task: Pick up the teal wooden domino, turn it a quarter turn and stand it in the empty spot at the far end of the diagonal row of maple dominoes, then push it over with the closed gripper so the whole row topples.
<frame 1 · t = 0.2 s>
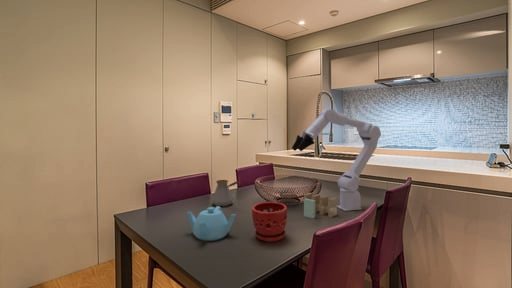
hand: (296, 149, 133), 31 cm above the table, tool tilted 45°, fingers open, 7 cm apart
domino 5: (332, 215, 132), on the table
domino 3: (315, 211, 138), on the table
coffee pot: (227, 206, 148), on the table
teapot: (211, 235, 110), on the table
plant pot: (269, 237, 107), on the table
domino 2: (308, 209, 141), on the table
domino 4: (324, 213, 135), on the table
teal domino: (309, 216, 130), on the table
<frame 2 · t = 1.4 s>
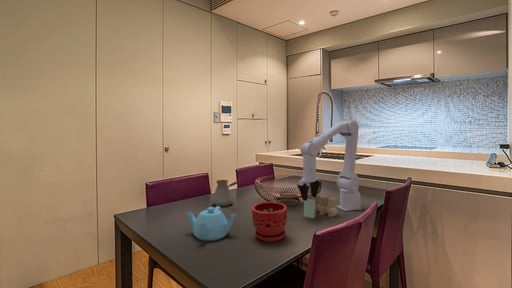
hand: (309, 198, 130), 9 cm above the table, tool pointing down, fingers open, 7 cm apart
nothing on the table moved.
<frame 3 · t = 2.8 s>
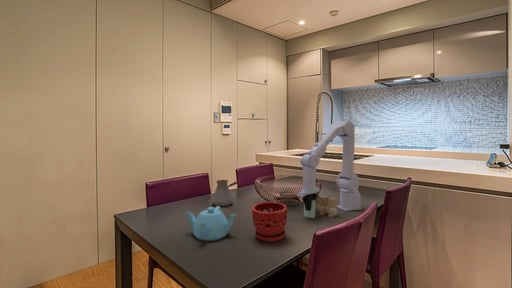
hand: (309, 209, 130), 3 cm above the table, tool pointing down, fingers closed on teal domino, 2 cm apart
teal domino: (309, 216, 130), on the table, touching gripper
everything else where it was.
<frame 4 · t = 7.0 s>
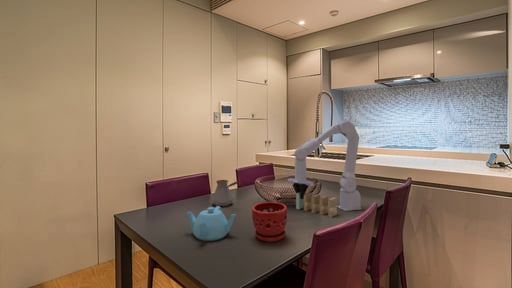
hand: (300, 198, 144), 5 cm above the table, tool pointing down, fingers closed on teal domino, 2 cm apart
teal domino: (300, 208, 144), on the table, touching gripper
everything else where it was.
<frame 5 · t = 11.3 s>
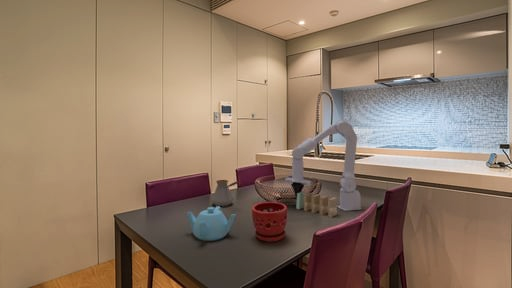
hand: (297, 197, 145), 5 cm above the table, tool pointing down, fingers closed
teal domino: (300, 207, 144), on the table
everything else where it was.
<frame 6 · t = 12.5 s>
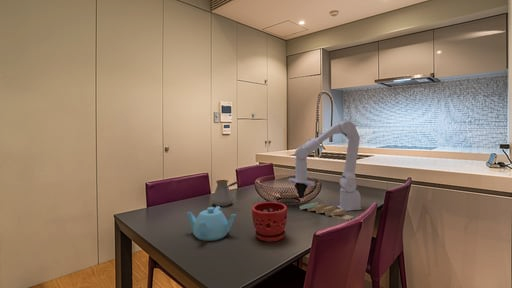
hand: (301, 197, 144), 5 cm above the table, tool pointing down, fingers closed
domino 5: (334, 215, 131), on the table, tilted 90°, touching domino 4
domino 3: (318, 210, 137), point 1 cm above the table, tilted 71°
domino 2: (310, 208, 140), point 1 cm above the table, tilted 70°, touching teal domino
domino 4: (327, 212, 133), point 1 cm above the table, tilted 74°, touching domino 5
teal domino: (302, 207, 143), point 1 cm above the table, tilted 69°, touching domino 2
everything else where it was.
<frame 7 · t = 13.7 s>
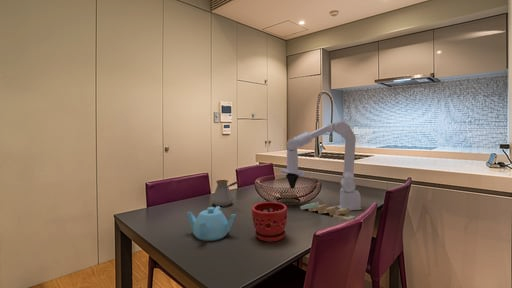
hand: (292, 188, 147), 9 cm above the table, tool pointing down, fingers closed
domino 3: (320, 210, 136), point 1 cm above the table, tilted 72°, touching domino 4
domino 4: (331, 212, 133), point 1 cm above the table, tilted 72°, touching domino 3, domino 5
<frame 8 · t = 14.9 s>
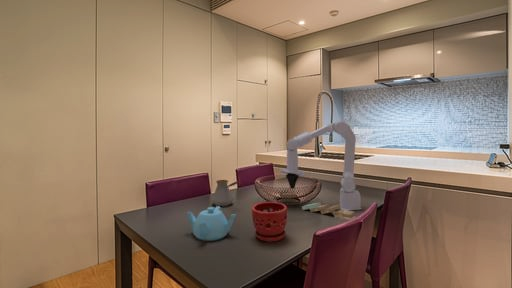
hand: (292, 188, 147), 9 cm above the table, tool pointing down, fingers closed
domino 3: (323, 211, 136), point 1 cm above the table, tilted 63°, touching domino 2
domino 2: (312, 209, 140), point 1 cm above the table, tilted 71°, touching domino 3, teal domino
domino 4: (335, 211, 131), point 2 cm above the table, tilted 90°, touching domino 5
at the end: domino 5 tilted 90°; teal domino tilted 71°; teal domino inside the target area (1.3 cm from its centre), point 0.7 cm above the table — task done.
